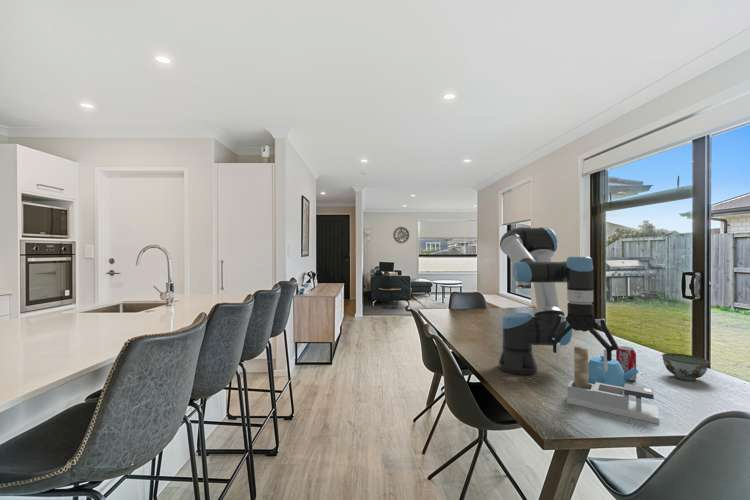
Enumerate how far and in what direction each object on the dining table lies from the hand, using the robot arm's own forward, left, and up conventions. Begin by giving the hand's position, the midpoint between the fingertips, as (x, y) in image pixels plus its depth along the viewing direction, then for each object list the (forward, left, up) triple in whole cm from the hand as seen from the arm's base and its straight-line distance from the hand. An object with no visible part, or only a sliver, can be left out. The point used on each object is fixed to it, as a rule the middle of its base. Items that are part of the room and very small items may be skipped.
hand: (581, 366), depth 114 cm
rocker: (+15, 0, -5) cm, 16 cm away
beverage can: (+11, +33, -11) cm, 37 cm away
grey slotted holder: (+8, 0, -11) cm, 14 cm away
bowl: (+29, +47, -11) cm, 56 cm away
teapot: (+5, +18, -11) cm, 22 cm away
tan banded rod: (0, 0, -10) cm, 10 cm away
